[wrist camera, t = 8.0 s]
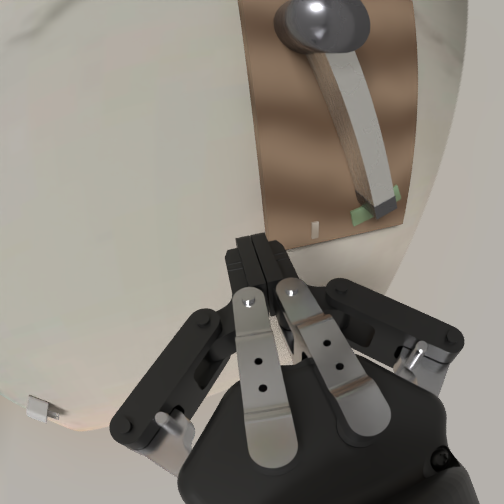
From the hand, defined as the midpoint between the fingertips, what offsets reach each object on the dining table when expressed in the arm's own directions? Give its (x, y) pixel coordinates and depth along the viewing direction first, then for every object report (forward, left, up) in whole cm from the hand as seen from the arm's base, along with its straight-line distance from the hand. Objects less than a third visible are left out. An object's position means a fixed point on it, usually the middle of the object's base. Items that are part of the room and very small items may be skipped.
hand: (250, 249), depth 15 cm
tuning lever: (-6, +9, -7) cm, 13 cm away
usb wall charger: (+33, -44, -9) cm, 56 cm away
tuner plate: (-5, +9, -9) cm, 14 cm away
